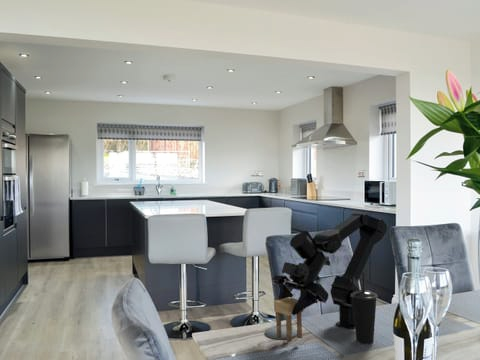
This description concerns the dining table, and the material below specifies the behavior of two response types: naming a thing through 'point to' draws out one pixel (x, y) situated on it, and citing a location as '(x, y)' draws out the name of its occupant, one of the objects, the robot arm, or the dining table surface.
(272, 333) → the disc
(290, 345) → the dining table surface
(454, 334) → the dining table surface
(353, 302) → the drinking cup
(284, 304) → the wooden stool
